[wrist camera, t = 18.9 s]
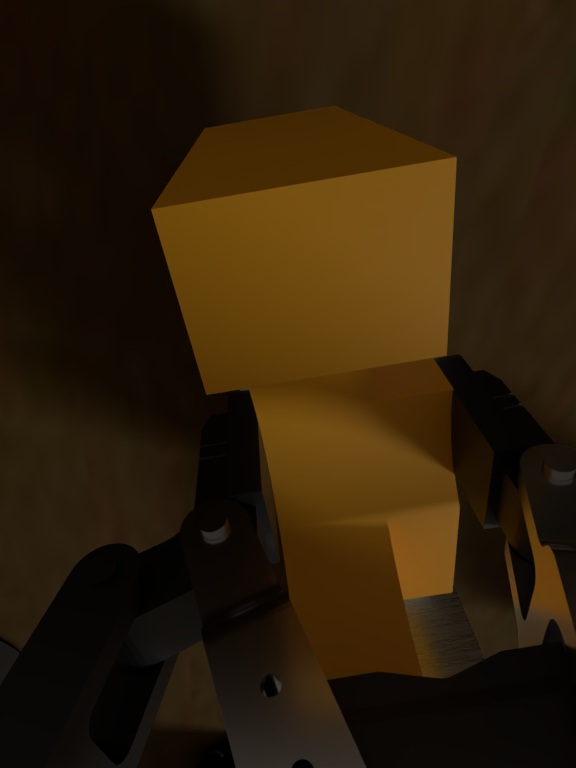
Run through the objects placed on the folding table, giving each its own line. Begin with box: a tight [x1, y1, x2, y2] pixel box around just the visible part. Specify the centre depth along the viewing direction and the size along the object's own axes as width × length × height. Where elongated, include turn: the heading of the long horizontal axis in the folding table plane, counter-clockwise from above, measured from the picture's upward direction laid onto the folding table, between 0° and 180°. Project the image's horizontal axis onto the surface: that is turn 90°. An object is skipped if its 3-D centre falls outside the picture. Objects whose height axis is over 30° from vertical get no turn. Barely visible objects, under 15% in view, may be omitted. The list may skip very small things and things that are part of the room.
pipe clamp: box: [151, 106, 460, 680], centre depth 10 cm, size 12×4×6 cm, turn 8°
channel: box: [404, 584, 485, 678], centre depth 20 cm, size 14×11×7 cm
